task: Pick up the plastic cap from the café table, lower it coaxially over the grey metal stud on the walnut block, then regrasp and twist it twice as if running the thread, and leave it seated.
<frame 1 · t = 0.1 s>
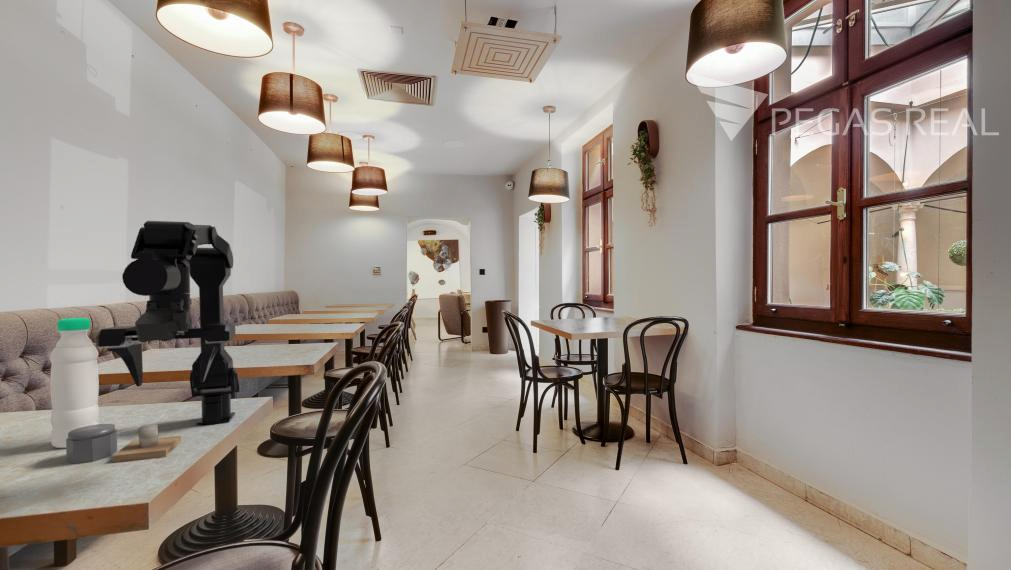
hand: (171, 383, 79), 15 cm above the table, tool pointing down, fingers open, 9 cm apart
cap: (92, 456, 84), on the table
stud block: (148, 451, 86), on the table
water bottle: (76, 443, 91), on the table
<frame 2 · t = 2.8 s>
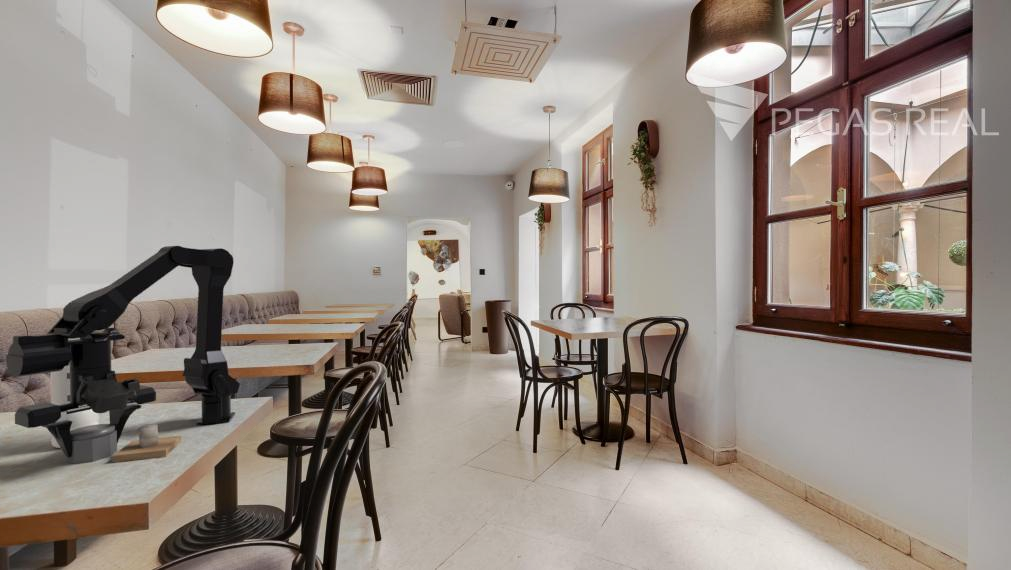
hand: (92, 450, 84), 1 cm above the table, tool pointing down, fingers closed on cap, 6 cm apart
cap: (92, 456, 84), on the table, touching gripper
everything else where it was.
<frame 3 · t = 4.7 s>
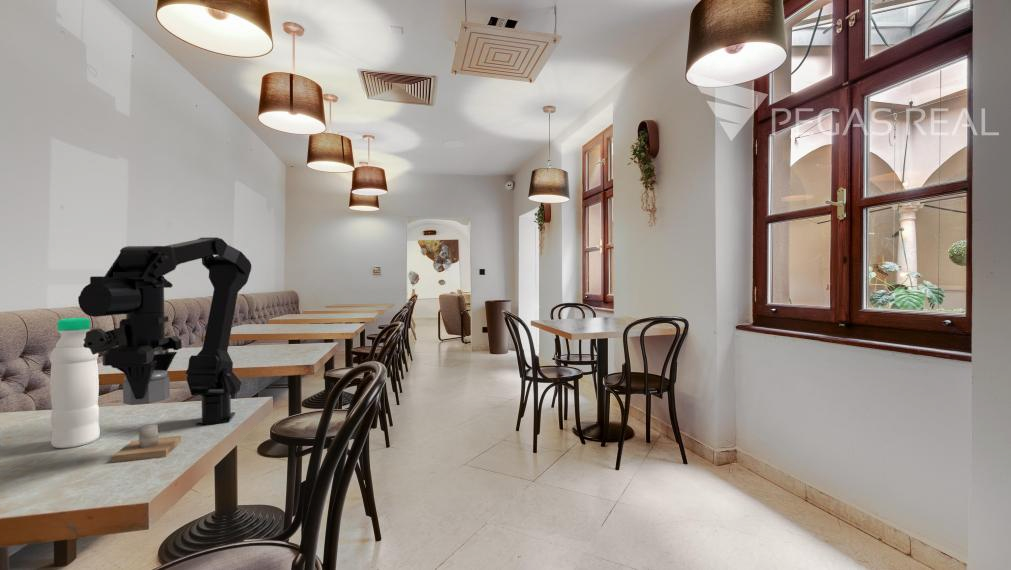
hand: (147, 394, 86), 11 cm above the table, tool pointing down, fingers closed on cap, 6 cm apart
cap: (147, 399, 86), point 10 cm above the table, touching gripper
everything else where it was.
when the fingers open (3 cm above the table, at t = 6.9 s): cap drops 1 cm, resting on stud block.
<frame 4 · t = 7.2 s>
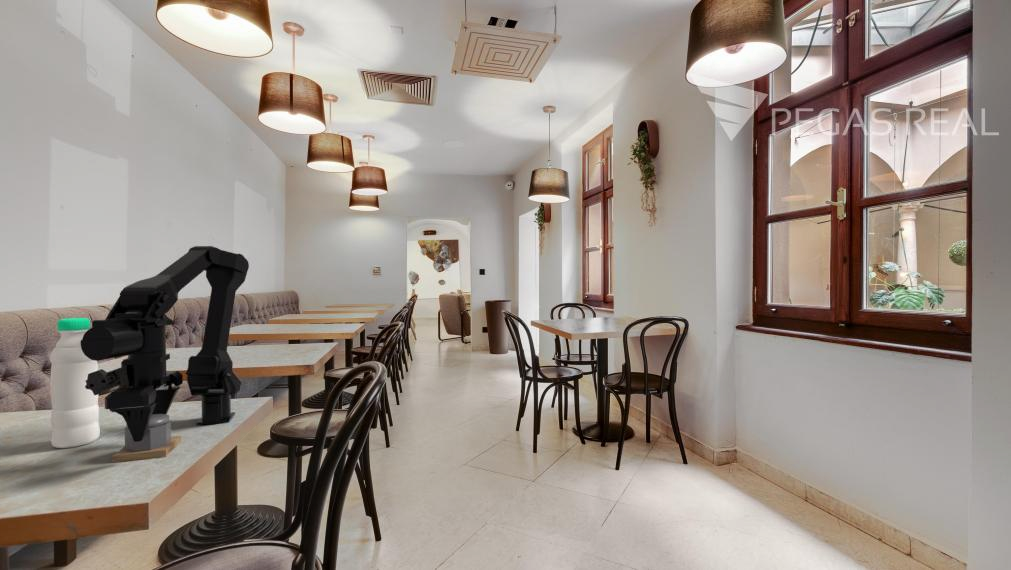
hand: (148, 433, 86), 3 cm above the table, tool pointing down, fingers open, 9 cm apart
cap: (148, 445, 86), point 1 cm above the table, touching stud block
everything else where it was.
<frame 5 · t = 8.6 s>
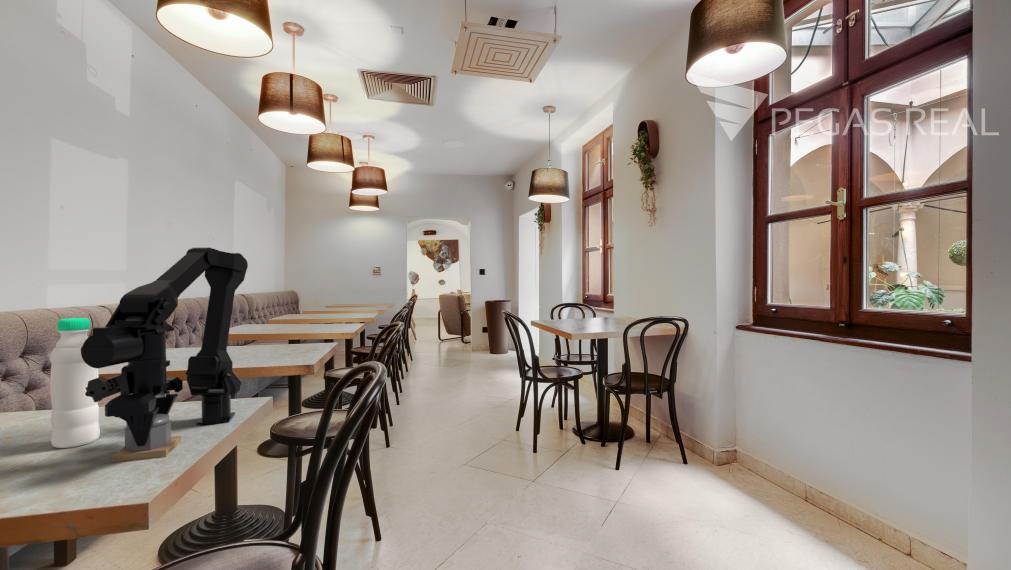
hand: (148, 439, 86), 2 cm above the table, tool pointing down, fingers closed on cap, 6 cm apart
cap: (148, 445, 86), point 1 cm above the table, touching gripper, stud block
everything else where it was.
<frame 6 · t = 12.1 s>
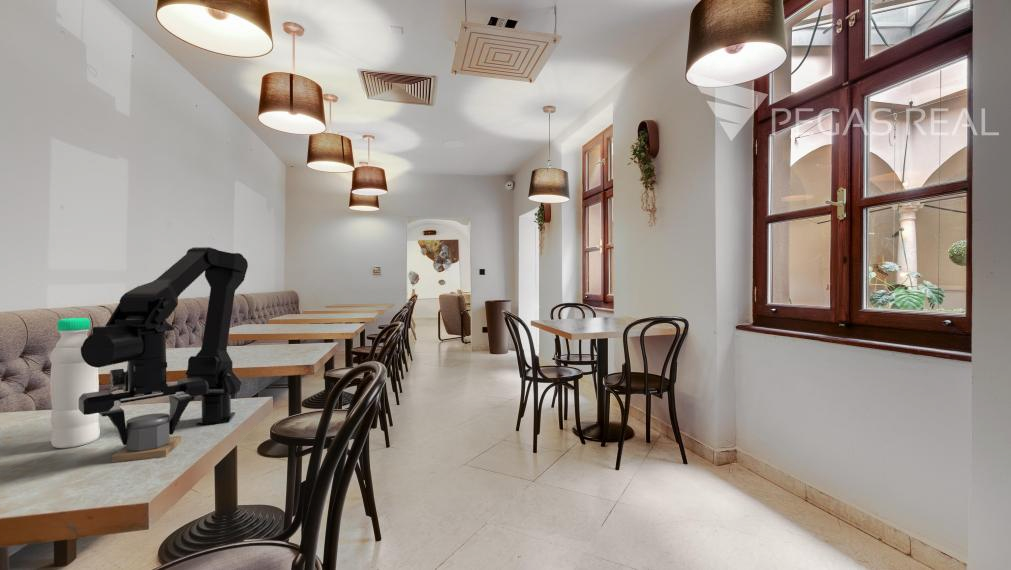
hand: (148, 439, 86), 2 cm above the table, tool pointing down, fingers closed on cap, 7 cm apart
cap: (148, 444, 86), point 1 cm above the table, touching gripper
everything else where it was.
when the fingers open (2 cm above the table, at t = 12.5 s): cap stays where it is, resting on stud block.
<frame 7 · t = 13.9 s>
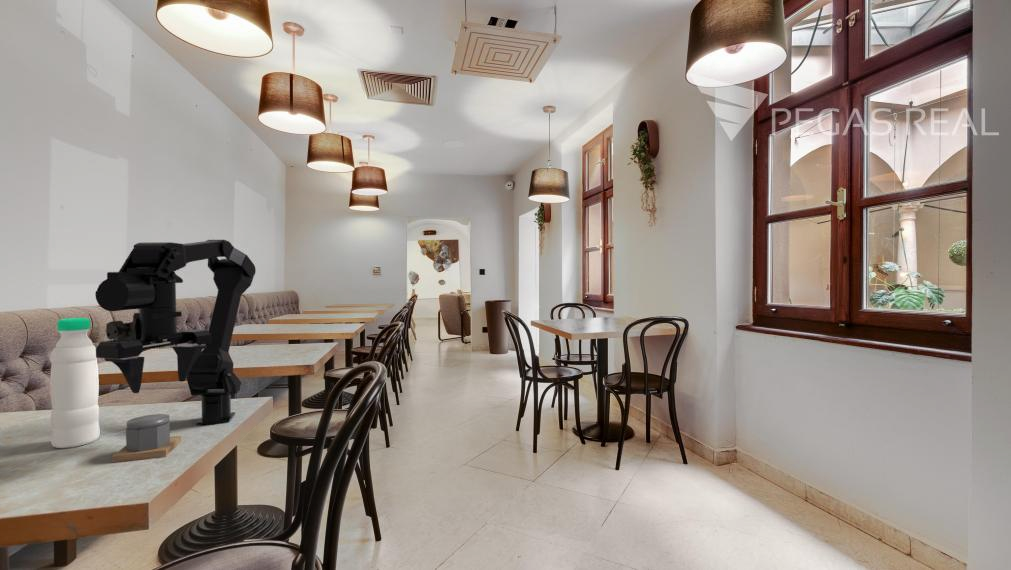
hand: (160, 386, 89), 12 cm above the table, tool pointing down, fingers open, 9 cm apart
cap: (148, 445, 86), point 1 cm above the table, touching stud block
everything else where it was.
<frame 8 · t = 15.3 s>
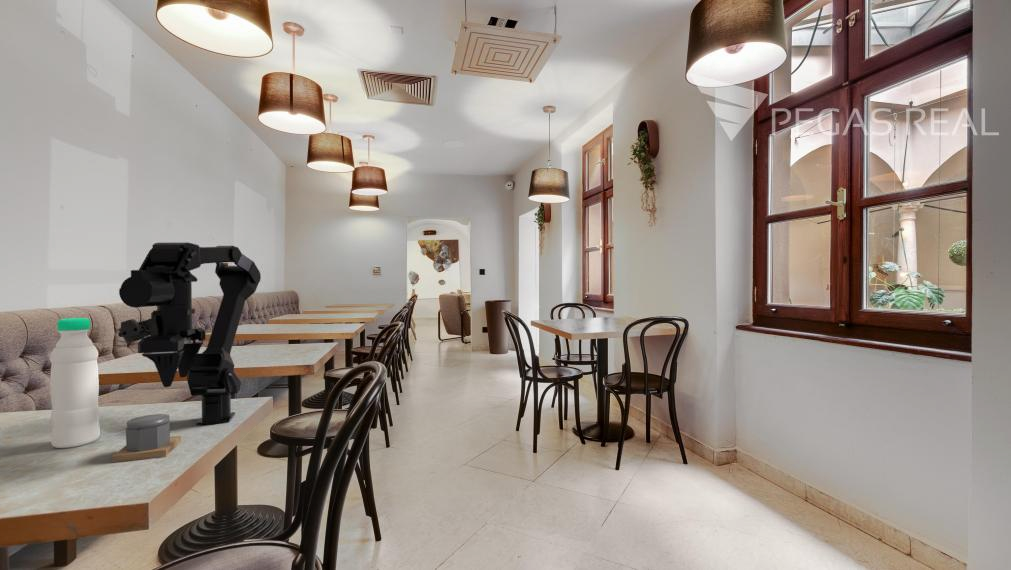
hand: (175, 381, 92), 12 cm above the table, tool pointing down, fingers open, 9 cm apart
nothing on the table moved.
at the end: cap 0.0 cm off-centre on the stud block, point 1.2 cm above the stud block's base; cap tilted 0°; the gripper is holding nothing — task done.
